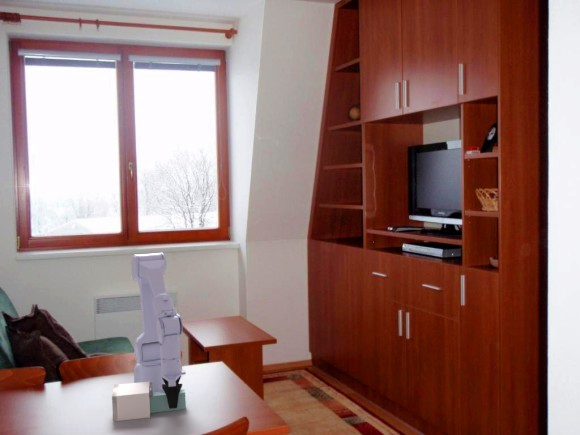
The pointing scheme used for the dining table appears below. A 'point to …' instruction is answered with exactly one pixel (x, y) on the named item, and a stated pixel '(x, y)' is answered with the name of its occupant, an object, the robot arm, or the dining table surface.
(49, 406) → the dining table surface
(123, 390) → the white box
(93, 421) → the dining table surface
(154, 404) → the mint green rectangular block
